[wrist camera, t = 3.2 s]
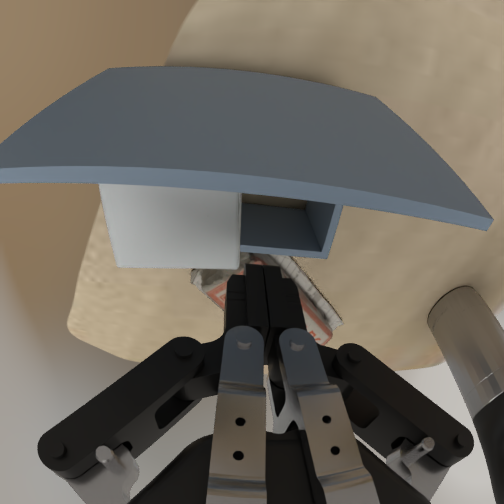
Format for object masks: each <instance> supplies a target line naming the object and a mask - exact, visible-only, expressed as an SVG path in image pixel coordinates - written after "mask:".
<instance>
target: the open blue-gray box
mask: <svg viewBox="0 0 504 504" xmlns="http://www.w3.org/2000/svg"><path fill="white" fill-rule="evenodd" d="M342 209H343V205H339V204H331V203H324V202H317V201H309V200H307V204H306V208H305V210H302V209H294V208H285V207H276V206H266V205H256V204H246V203H241V233H240V252H250V253H262V254H273V255H285V256H297V257H309V258H321V259H327V258H328V255H329V251H330V248H331V245H332V242H333V239H334V235H335V232H336V229H337V225H338V222H339V219H340V215H341V212H342Z"/></svg>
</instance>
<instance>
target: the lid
mask: <svg viewBox="0 0 504 504" xmlns="http://www.w3.org/2000/svg"><path fill="white" fill-rule="evenodd" d="M0 183H95V184H96V183H97V184H123V185H143V186H161V187H176V188H190V189H203V190H215V191H227V192H237V193H247V194H257V195H267V196H276V197H284V198H293V199H301V200H309V201H317V202H324V203H331V204H339V205H346V206H352V207H359V208H366V209H372V210H378V211H384V212H391V213H396V214H402V215H408V216H414V217H419V218H425V219H430V220H435V221H441V222H446V223H451V224H456V225H461V226H465V227H470V228H475V229H479V230H484V231H487V230H488V228H489V227H490V225H491V224H492V222H493V220H494V219H493V218H492V217H491V215H490V214H489V213H488V212H487V210H486V209H485V208H484V206H483V205H482V204H481V203H480V201H479V200H478V199H477V198H476V196H475V195H474V194H473V193H472V192H471V190H470V189H469V188H468V187H467V186H466V184H465V183H464V182H463V181H462V180H461V179H460V177H459V176H458V175H457V174H456V173H455V172H454V171H453V170H452V169H451V167H450V166H449V165H448V164H447V163H446V162H445V161H444V160H443V159H442V158H441V157H440V156H439V155H438V154H437V153H436V152H435V151H434V150H433V149H432V148H431V147H430V146H429V145H428V144H427V143H426V142H425V141H424V140H423V139H422V138H421V137H420V136H419V135H418V134H417V133H416V132H415V131H414V130H413V129H412V128H411V127H410V126H409V125H408V124H406V123H405V122H404V121H403V120H402V119H401V118H400V117H399V116H398V115H396V114H395V113H394V112H393V111H392V110H391V109H389V108H388V107H387V106H386V105H385V104H384V103H382V102H381V101H380V100H379V99H378V98H376V97H374V96H370V95H367V94H363V93H360V92H356V91H352V90H348V89H344V88H340V87H336V86H331V85H327V84H322V83H317V82H312V81H307V80H302V79H297V78H291V77H285V76H279V75H272V74H265V73H257V72H249V71H240V70H230V69H218V68H202V67H174V66H152V67H151V66H149V67H122V68H109V69H107V70H105V71H103V72H102V73H100V74H98V75H96V76H95V77H93V78H91V79H89V80H88V81H86V82H85V83H83V84H81V85H80V86H78V87H76V88H75V89H73V90H72V91H70V92H69V93H67V94H66V95H64V96H62V97H61V98H59V99H58V100H57V101H55V102H54V103H52V104H51V105H49V106H48V107H47V108H45V109H44V110H42V111H41V112H40V113H38V114H37V115H36V116H34V117H33V118H32V119H30V120H29V121H28V122H26V123H25V124H24V125H23V126H21V127H20V128H19V129H18V130H16V131H15V132H14V133H13V134H11V135H10V136H9V137H8V138H7V139H6V140H4V141H3V142H2V143H1V144H0Z"/></svg>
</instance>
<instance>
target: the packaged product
mask: <svg viewBox="0 0 504 504" xmlns="http://www.w3.org/2000/svg"><path fill="white" fill-rule="evenodd" d="M245 263H247V264H260V265H274V266H280V268H281V274H282V278H291V279H292V281H293V282H294V283H295V284H296V286H297V288H298V292H299V297H300V301H301V305H302V309H303V314H304V318H305V323H306V327H307V331H308V332H309V333H310V334H311V335H312V336H313V337H314V339H315V341H316V342H317V343H318V344H320V345H323V346H324V345H325V344H326V343H327V342H328V341H329V340H330V339H331V338H332V335H333V334H332V331H333V330H335V329H336V328H337V326H340V325H344V324H343V322H342V320H341V319H340V317H339V316H338V315H337V313H336V312H335V311H334V309H333V308H332V307H331V305H330V304H329V303H328V302H327V301H326V300H325V299H324V298H323V297H322V295H321V294H320V293H319V291H318V290H317V289H316V288H315V286H314V285H313V284H312V283H311V281H310V280H309V279H308V277H307V276H306V274H305V273H304V271H303V270H302V269H301V268H300V267H299V266H298V265H297V264H296V263H295V262H294V261H293V260H292V258H291V257H290V256H285V255H273V254H262V253H250V252H240V262H239V267H238V269H236V270H232V269H195V270H193V271H192V272H191V283H192V284H194V285H196V286H197V288H198V289H199V290H200V291H202V292H203V293H204V294H205V295H206V296H207V297H208V298H209V299H211V300H212V301H213V302H214V303H215V304H216V305H217V306H218V307H220V308H221V309H222V310H223V311H224V307H225V297H226V287H227V281H228V280H229V278H230V277H231V275H232V274H236V275H243V271H244V265H245Z"/></svg>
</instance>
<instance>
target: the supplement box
mask: <svg viewBox="0 0 504 504" xmlns="http://www.w3.org/2000/svg"><path fill="white" fill-rule="evenodd" d="M99 190H100V195H101V200H102V205H103V210H104V215H105V219H106V224H107V228H108V233H109V237H110V241H111V245H112V249H113V253H114V257H115V261H116V265H117V267H118V268H196V269H232V270H236V269H238V267H239V262H240V233H241V200H242V193H237V192H227V191H215V190H203V189H190V188H176V187H161V186H143V185H123V184H99Z"/></svg>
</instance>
